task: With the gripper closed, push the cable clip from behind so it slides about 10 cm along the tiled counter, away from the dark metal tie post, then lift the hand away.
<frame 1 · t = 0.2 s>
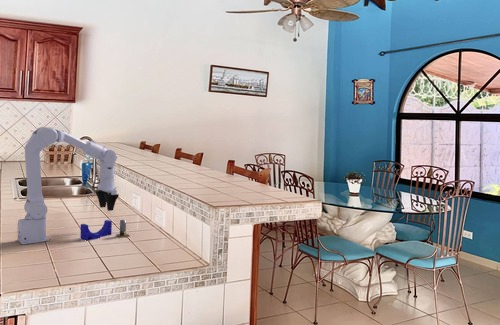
hand: (106, 208, 171), 10 cm above the countertop, tool pointing down, fingers open, 7 cm apart
tie post: (122, 235, 166), on the countertop
cable clip: (97, 237, 163), on the countertop
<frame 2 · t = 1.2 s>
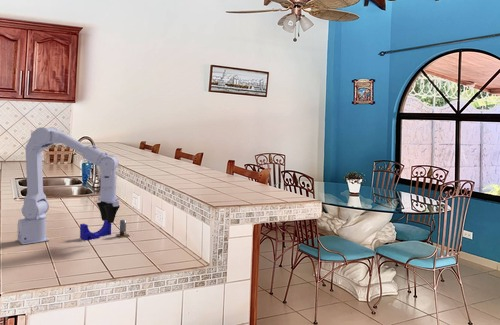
hand: (107, 221, 155), 8 cm above the countertop, tool pointing down, fingers open, 4 cm apart
nothing on the countertop moved.
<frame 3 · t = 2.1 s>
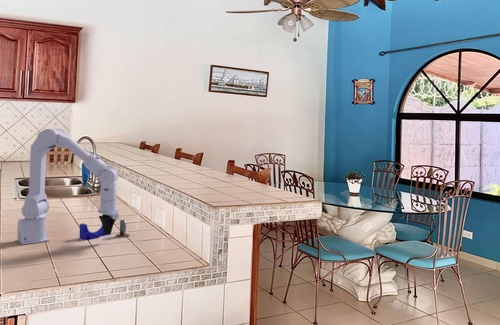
hand: (107, 233, 156), 4 cm above the countertop, tool pointing down, fingers closed
nothing on the countertop moved.
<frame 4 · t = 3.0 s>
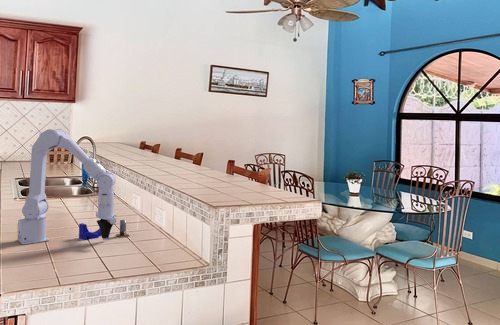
hand: (105, 238, 157), 1 cm above the countertop, tool pointing down, fingers closed
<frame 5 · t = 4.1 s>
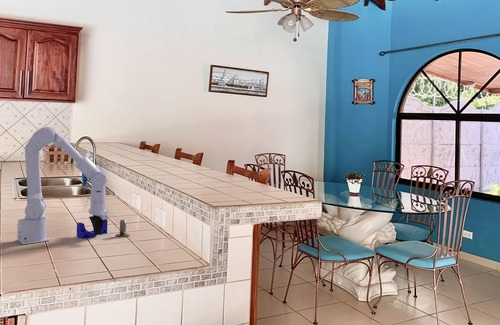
hand: (97, 233, 163), 1 cm above the countertop, tool pointing down, fingers closed
cable clip: (93, 236, 165), on the countertop
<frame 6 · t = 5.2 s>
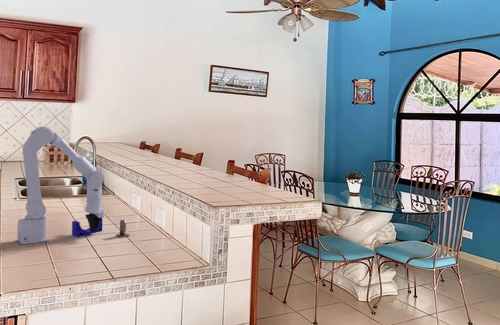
hand: (93, 231, 166), 1 cm above the countertop, tool pointing down, fingers closed
cable clip: (88, 234, 167), on the countertop
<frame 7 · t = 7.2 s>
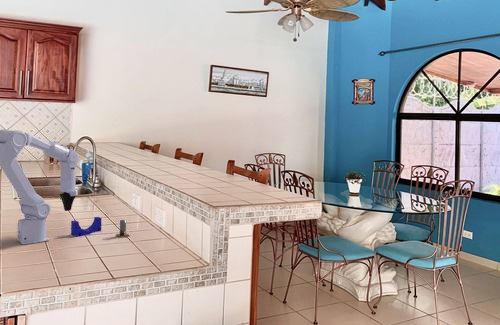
hand: (67, 210, 166), 9 cm above the countertop, tool pointing down, fingers closed
nothing on the countertop moved.
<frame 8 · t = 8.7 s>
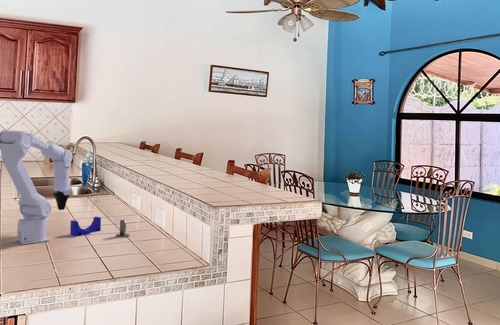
hand: (61, 209, 167), 9 cm above the countertop, tool pointing down, fingers closed
at the end: cable clip moved 8.4 cm from its start; cable clip inside the target area (2.1 cm from its centre), on the countertop; cable clip tilted 0° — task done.
